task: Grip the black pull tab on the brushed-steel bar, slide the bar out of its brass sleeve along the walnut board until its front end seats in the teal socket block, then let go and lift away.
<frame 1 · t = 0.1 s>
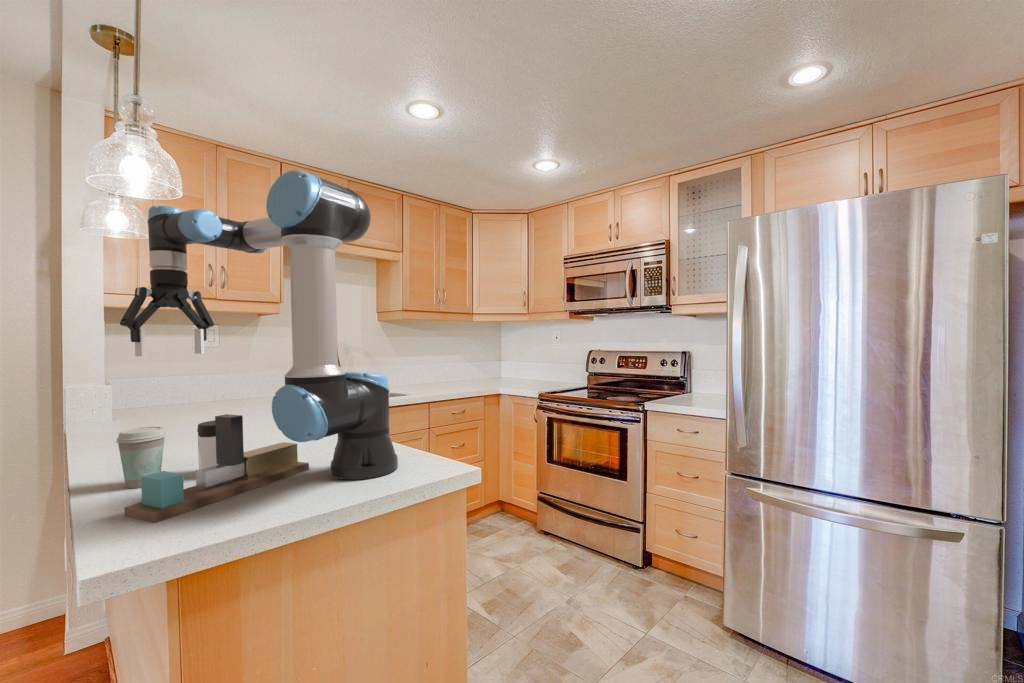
hand: (171, 355, 114), 28 cm above the counter, fingers open, 13 cm apart
teal socket: (162, 489, 83), on the walnut board, point 4 cm above the counter
jar: (220, 473, 107), on the counter
coffee cup: (143, 484, 100), on the counter
walnut board: (288, 469, 108), on the counter
brass sleeve: (266, 459, 103), on the walnut board, point 4 cm above the counter
steel bar: (247, 442, 99), point 9 cm above the counter, slide at 0.0 cm
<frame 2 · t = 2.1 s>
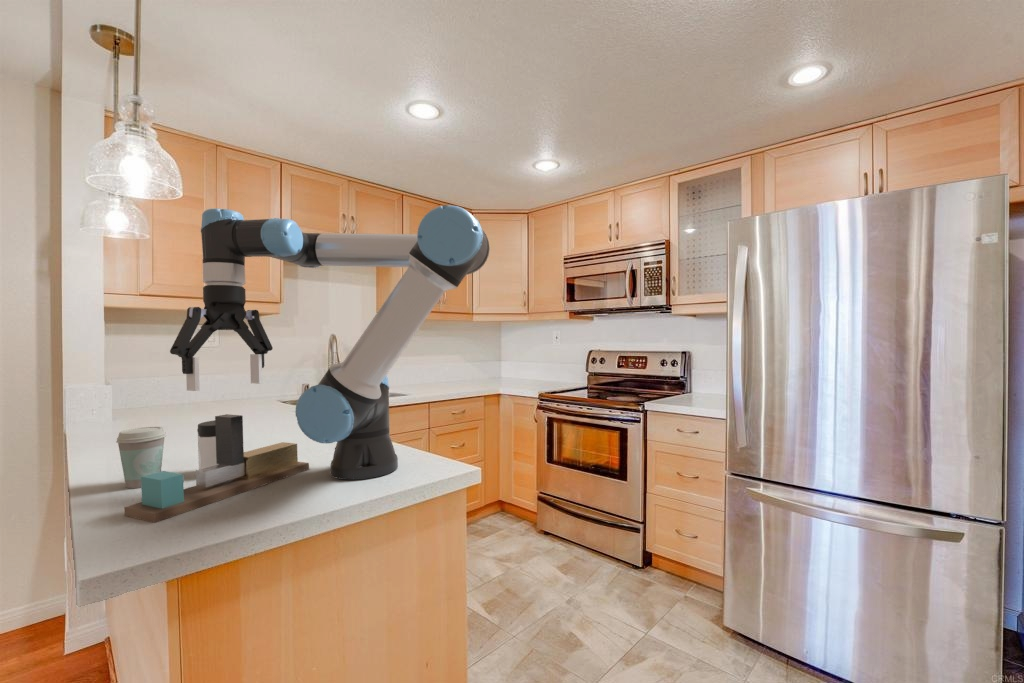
hand: (226, 386, 95), 22 cm above the counter, fingers open, 13 cm apart
nothing on the counter moved.
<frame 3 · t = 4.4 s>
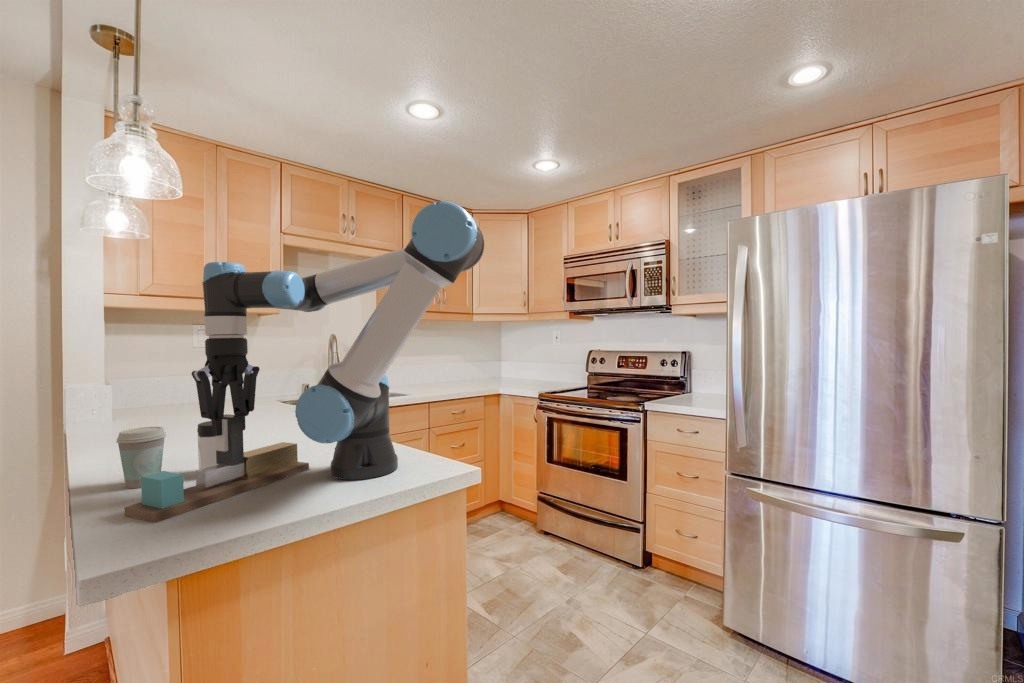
hand: (229, 448, 95), 9 cm above the counter, fingers closed on steel bar, 2 cm apart
steel bar: (247, 442, 99), point 9 cm above the counter, slide at 0.0 cm, touching gripper
everything else where it was.
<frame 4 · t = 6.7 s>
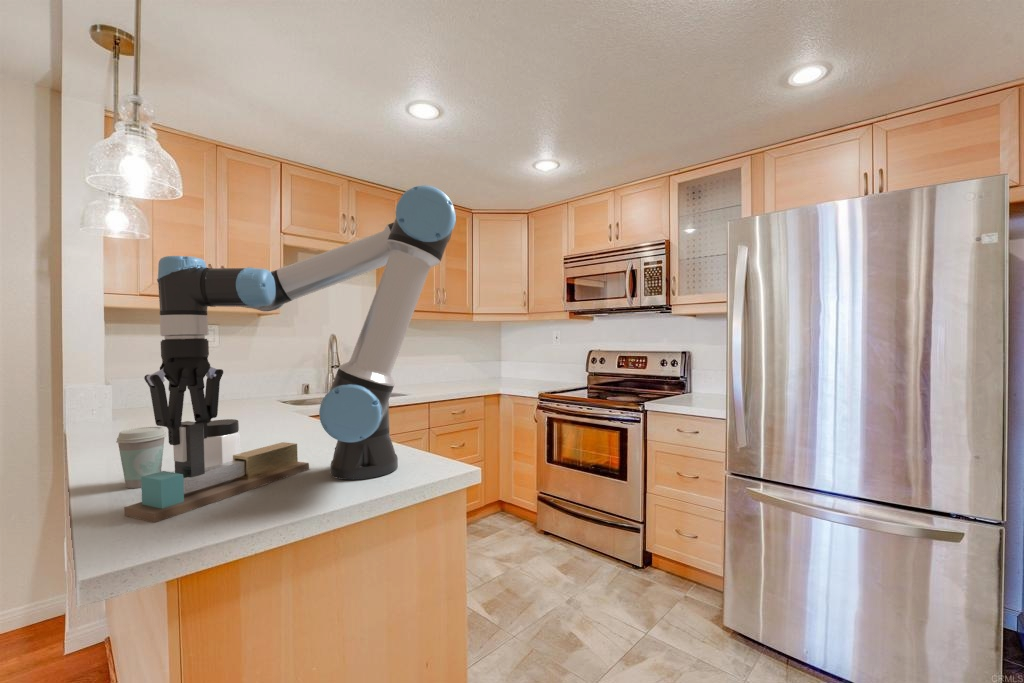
hand: (189, 458, 88), 9 cm above the counter, fingers closed on steel bar, 3 cm apart
steel bar: (209, 451, 91), point 9 cm above the counter, slide at 8.1 cm, touching gripper
everything else where it was.
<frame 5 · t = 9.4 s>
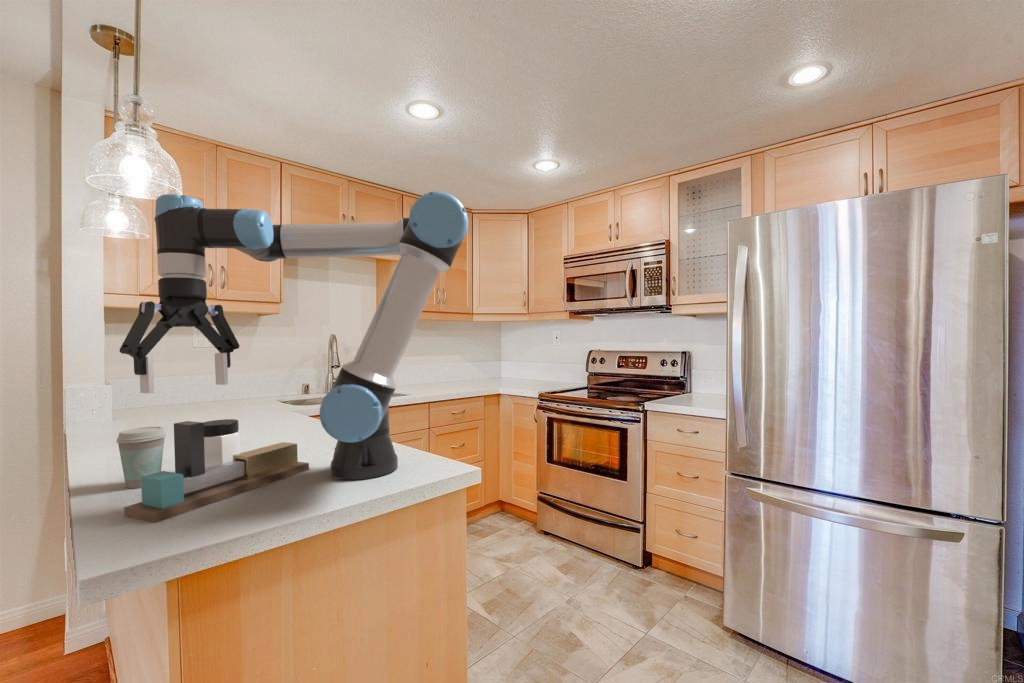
hand: (187, 388, 87), 22 cm above the counter, fingers open, 13 cm apart
steel bar: (210, 451, 91), point 9 cm above the counter, slide at 8.0 cm
everything else where it was.
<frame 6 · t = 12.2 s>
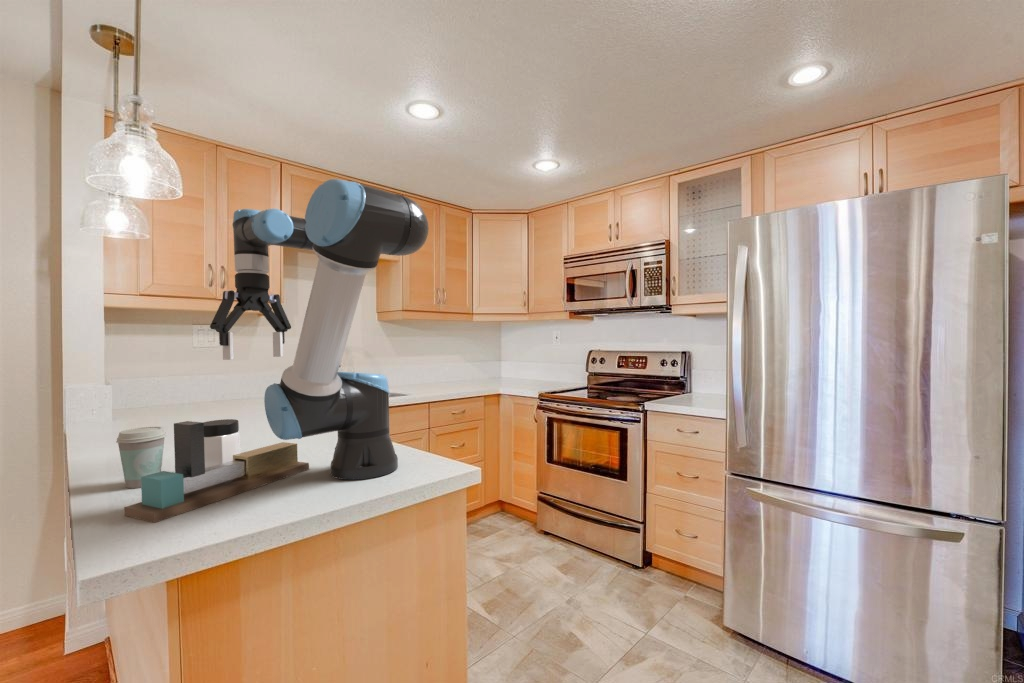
hand: (254, 358, 114), 27 cm above the counter, fingers open, 13 cm apart
nothing on the counter moved.
at the end: steel bar slide at 8.0 cm; the gripper is holding nothing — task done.
